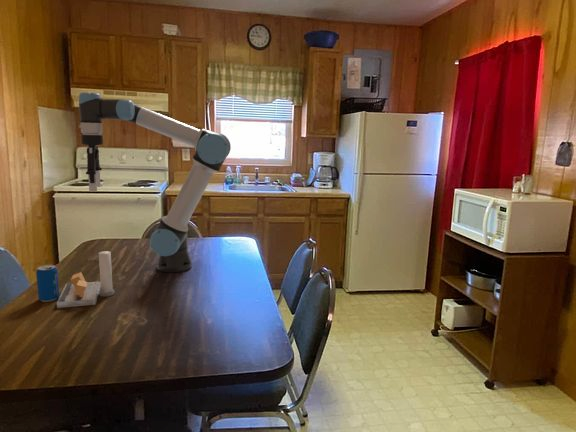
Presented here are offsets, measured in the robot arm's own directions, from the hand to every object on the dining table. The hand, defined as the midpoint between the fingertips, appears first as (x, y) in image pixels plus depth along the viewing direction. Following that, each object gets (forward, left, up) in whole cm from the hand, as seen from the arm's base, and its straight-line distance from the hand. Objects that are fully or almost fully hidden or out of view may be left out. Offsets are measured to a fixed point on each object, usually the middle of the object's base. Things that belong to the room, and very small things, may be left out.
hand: (95, 189), depth 165 cm
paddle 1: (+5, +16, -35) cm, 38 cm away
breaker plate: (+5, +20, -37) cm, 42 cm away
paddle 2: (+5, +25, -35) cm, 43 cm away
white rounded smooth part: (-4, +20, -37) cm, 42 cm away
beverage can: (+15, +20, -37) cm, 45 cm away
